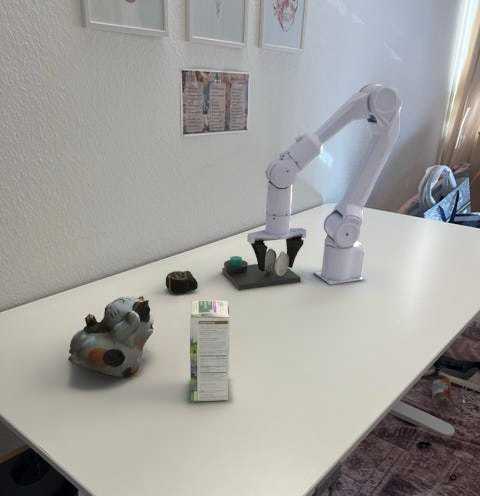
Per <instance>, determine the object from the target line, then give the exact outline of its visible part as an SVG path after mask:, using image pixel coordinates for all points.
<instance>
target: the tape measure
mask: <svg viewBox="0 0 480 496" xmlns="http://www.w3.org/2000/svg"><path fill="white" fill-rule="evenodd" d="M198 286H199V283H198V281H197V278H195V276H193V274H192V272H191V271H190V270H183V271H181V270H175V271H171V272H169V273H167V274H166V277H165V287H166V288H167V290H169V292H172V293H177V294H184V293H188V292H193V291H196V290H197V289H198V288H199V287H198Z"/></svg>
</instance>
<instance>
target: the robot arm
mask: <svg viewBox="0 0 480 496" xmlns="http://www.w3.org/2000/svg"><path fill="white" fill-rule="evenodd" d="M402 106H403V100H402V98H401V96H400V94H399V91H398V89H397V88H396V87H395V86H394V85H392V84H390V83H384V84H375V83H367V84H366V85H364V86H362V87H361V88H360V89H359V90H358V91H357V92H355V93H353V94H352V95H351V96H350V97H349V98H348V99H347V100H346V101H345V102H343V104H342V105H341V106H340V107H339V108H338V109H337V110H336V111H335V112H333V113H332V114H331V116H330V117H328V118H327V119H326V120H325V121H324V123H322V124H321V125H320V126H319V127H318V128H317V129H316V131H314V132H313V133H309V132H307V133H306V132H305V133H304V134H302V135H301V134H298V135H297V136H296V137H295V138H294V140H295V141H294V143H292V144H291V145H290V146H289V147H288V148H287V149H286V150H285V151H284V152H283V151H280V152H279V153H278V156H279V157H277V158H274V159H272V160H271V161H270V162H269V163H268V164H267V167H266V169H265V170H264V173H265V177H266V179H267V180H268V181H267V191H266V203H265V204H266V205H265V206H266V208H265V228H264V229H262V230H258V231H254V232H248V233H247V236H246V237H247V238H246V239H247V241H246V242H247V243H249V244H250V245H251V247H252V250H253V252H254V255H255V258H256V261H257V264H258V268H259V270H260V271H264V270H265V257H266V252H267V251H268V249H269V248H268V247H269V246H267V245H266V243H265V242H269V241H281V240H285V242H286V243H285V245H286V246H285V247H286V254H288V256H289V266H288V268H289V269H293V266H294V263H295V260H296V258H297V255H298V253H299V251H300V250H301V249H302V247H303V246H304V242H305V241H304V239H306V238H307V229H305V228H303V227H295V228H294V227H293V228H292V227H291V214H292V200H293V199H292V197H293V192H292V191H293V185H294V183H295V182H296V180H297V175H298V174H301V173H302V172H303V171H304V170H305V169H306V168H307V167H309V166H310V165H311V164H312V163H313V162H314V161H316V159H317V158H319V157H320V156H321V155H322V152H323V147H324V145H325V144H327V142H329V141H330V140H332V138H334V137H335V136H337V135H338V133H340V132H341V131H342V130H344V129H345V128H346V127H347V126H348V125H350V124H351V123H352V122H354V121H360V120H366V122H367V123H368V126H369V128H370V131H371V133H372V135H371V137H370V139H369V141H368V142H367V143H368V144H367V145H366V148H365V150H364V152H363V154H362V156H361V158H360V160H359V163H358V165H357V167H356V169H355V171H354V174H353V175H352V178H351V180H350V182H349V184H348V186H347V188H346V191H345V193H344V195H343V197H342V199H341V200H340V201H339V202H338V203H336V205H334V207H333V209H332V211H331V212H330V213H329V214H327V216H326V217H325V219H324V221H323V230H324V232H325V233H326V237H325V239H324V242H323V243H324V244H323V254H322V263H321V270H317V271H314V272H313V273H314V275H316V276H317V277H318V278H319V279H322V280H323V281H324V282H326V283H327V284H329V285H336V284H337V285H338V284H343V283H351V282H359V281H363V277H362V272H363V265H364V257H365V252H364V247H363V245H362V244H361V242H359V241H358V240H359V238H360V235H361V226H362V223H363V221H364V213H363V209H364V207H365V205H366V203H367V201H368V200H369V197H370V195H371V193H372V191H373V189H374V187H375V185H376V183H377V181H378V179H379V177H380V174H381V172H382V171H383V168H384V166H385V165H386V162H387V160H388V158H389V156H390V154H391V152H392V150H393V148H394V146H395V144H396V142H397V140H398V138H399V135H400V129H401V125H400V123H401V122H400V121H401V109H402Z"/></svg>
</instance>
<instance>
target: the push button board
mask: <svg viewBox="0 0 480 496" xmlns="http://www.w3.org/2000/svg"><path fill="white" fill-rule="evenodd" d="M221 274H223V276H224V277H226V279H227V280H228V281H229V282H230V283H231V284H232V285H233V286H234V287H235V288H236V289H237V290H238V291H246V290H252V289H259V288H267V287H275V286H282V285H288V284H297V283H301V276H300V275H299V274H297V273H296V272H294V271H293V270H292V269H291V268H289V267H288V269H287V271H286V272H285V274H284V275H282V276H279V275H277V274H276V272H275V266H274V268H273V270H272V271H270V272H265V271H260V270H259V268H258V263H254V264H249V262H248V261H246V260H243V259H242V265H240V266H233V265H230V259H228V260H225V261H224V263H223V267H221Z"/></svg>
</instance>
